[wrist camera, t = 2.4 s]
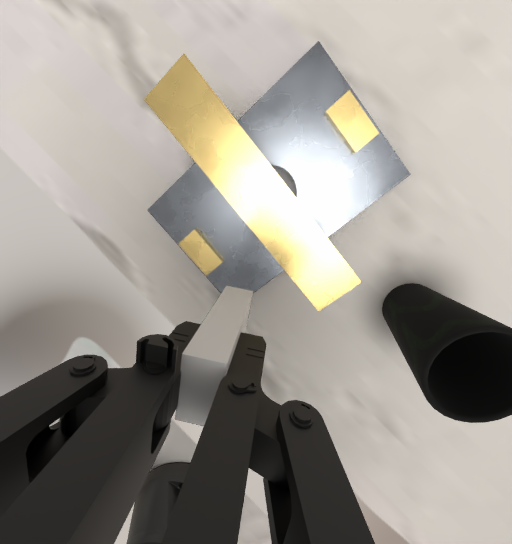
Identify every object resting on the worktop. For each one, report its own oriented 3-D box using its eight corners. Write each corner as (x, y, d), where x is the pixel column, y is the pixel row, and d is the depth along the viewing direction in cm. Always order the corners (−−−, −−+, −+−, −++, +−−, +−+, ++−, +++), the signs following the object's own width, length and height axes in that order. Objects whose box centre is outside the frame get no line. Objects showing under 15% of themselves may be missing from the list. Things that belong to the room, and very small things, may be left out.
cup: (361, 291, 30) (406, 352, 19) (432, 261, 29) (529, 308, 17) (387, 348, 32) (443, 436, 20) (456, 323, 30) (559, 404, 19)
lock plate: (235, 303, 32) (224, 328, 27) (152, 209, 30) (121, 213, 25) (405, 175, 27) (437, 170, 21) (317, 48, 25) (326, 4, 19)
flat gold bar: (310, 279, 24) (318, 311, 18) (185, 126, 22) (143, 99, 15) (341, 257, 23) (361, 282, 17) (215, 94, 21) (184, 53, 15)
